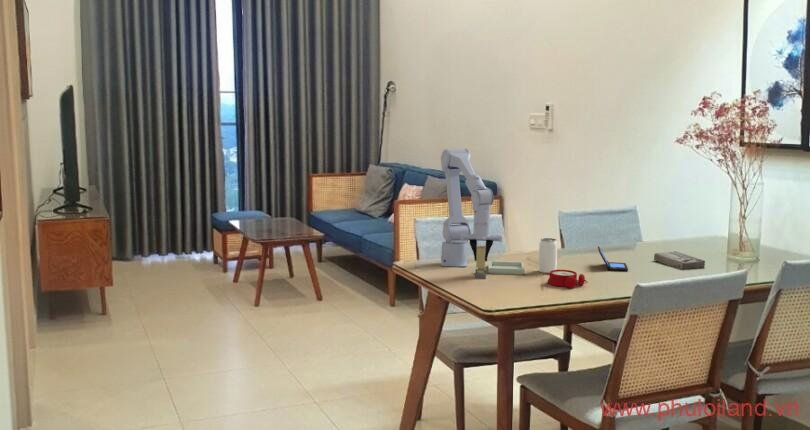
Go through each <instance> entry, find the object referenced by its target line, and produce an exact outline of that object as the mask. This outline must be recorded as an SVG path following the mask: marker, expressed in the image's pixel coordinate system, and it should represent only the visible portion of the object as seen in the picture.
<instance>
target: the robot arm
mask: <svg viewBox="0 0 810 430" xmlns="http://www.w3.org/2000/svg"><path fill="white" fill-rule="evenodd" d="M471 158H472V157H471V152H470V150H469V149H468V148H458V149H457V148H456V149H455V148H454V149H453V148H452V149H448V148H445V149H443V151H442V152H441V155H440V161H441V163H440V164H441V171H442V172H443V173H444V174H445V183H446V185H445V186H446V191H447V192H446V195H447V203H448V214H449V216H448V217H447V218H446V219H445V220H444V221H443V223H442V227H443V228H442V237H443V239H444V240H445V241H442V242H441V256H440V261H441V265H440V266H441V267H463V268H464V267H465V268H466V267H467V265H468V261H467V243H468V242H469V246H470V248H471V250H472V253H473V258H474V262H476V255H477V246H478V242H479V241H480V242H485V246H486V254H485V262H488V256H489V253H490V251H491V249H492V246H493V244H494V242H499V243H502V242H503V235H498V234H490V233H491V232H490V231H491V227H490V226H491V206H492V205H493V204H494V200H495V199H494V198H495V197H494V193H493V191H492V190H493V189H491V188H489V187H486V185H485V183H484V181H483V180H482V178H481V177H480V175H478V174H476V173H475V170H474V169H473V166H472V164H471ZM460 173H461V174H463V176H464V177H465V179H466V180H465V186H466V187H467V189H468V191H469V193H470V195H471V197H470V200H471V205H472V211H473V233H472V228H471V224H470V220H469V219H468V218H466V217H465V216H464V215H463V206H462V205H463V204H462V197H461V185H460V176H459V175H460Z"/></svg>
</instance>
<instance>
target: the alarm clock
mask: <svg viewBox="0 0 810 430" xmlns="http://www.w3.org/2000/svg"><path fill="white" fill-rule="evenodd" d="M542 275H543V276H544V275H545V276H549V278H548V279H547V284H549V285H551V286H555V287H561V288H562V287H564V288H567V289H574V288H575V287H577V286H579V287H582V286H584V284H587V283H588V280H586V278H585V274H583V273H580V274H578V273H577V272H576V271H573V270H569V269H556V270H552V271H550V273H542ZM578 275H579V276H578ZM577 277H578V278H577Z"/></svg>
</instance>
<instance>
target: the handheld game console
mask: <svg viewBox="0 0 810 430" xmlns="http://www.w3.org/2000/svg"><path fill="white" fill-rule="evenodd" d="M597 250H598V253H599V255H600V257H601V259H602V260H603V263H605V266H606V269H607V272H622V273H623V272H626V273H627V272H629V268H628V265H627V263H626V262H614V261H612V262H609V260H607V258H606V256H605V255H604V252H603V251H602V249H601V248H600V246H598V245H597Z"/></svg>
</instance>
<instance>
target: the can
mask: <svg viewBox="0 0 810 430" xmlns="http://www.w3.org/2000/svg"><path fill="white" fill-rule="evenodd" d="M538 245H539V246H538V247H539V248H538V272H540V273H542V274H550V271H552V270H557V265H558V264H557V261H558V259H557V258H558V242H557V239H556V238H551V237H543V238H540V242H539V243H538Z"/></svg>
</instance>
